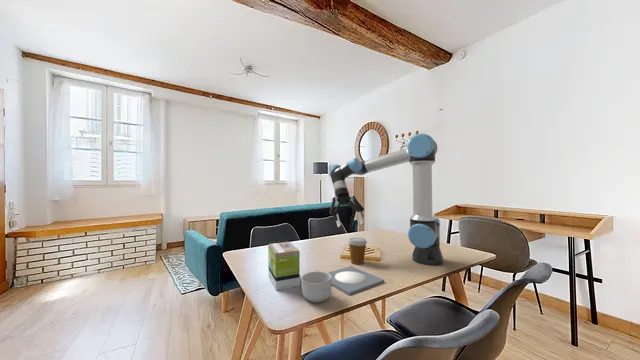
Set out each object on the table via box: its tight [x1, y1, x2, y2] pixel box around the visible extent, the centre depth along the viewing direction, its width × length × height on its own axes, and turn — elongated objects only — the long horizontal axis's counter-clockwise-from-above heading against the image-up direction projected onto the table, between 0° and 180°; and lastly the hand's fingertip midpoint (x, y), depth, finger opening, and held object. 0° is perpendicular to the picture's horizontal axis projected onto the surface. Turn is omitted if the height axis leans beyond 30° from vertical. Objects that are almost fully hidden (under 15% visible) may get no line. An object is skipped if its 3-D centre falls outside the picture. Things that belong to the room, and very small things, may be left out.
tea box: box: [267, 241, 301, 291], centre depth 102 cm, size 15×10×15 cm, turn 23°
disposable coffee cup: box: [348, 237, 368, 266], centre depth 125 cm, size 10×10×12 cm
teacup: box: [300, 269, 332, 303], centre depth 89 cm, size 14×11×8 cm
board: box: [327, 265, 385, 296], centre depth 103 cm, size 20×20×1 cm
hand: (351, 225), depth 129 cm, fingers open, 13 cm apart
